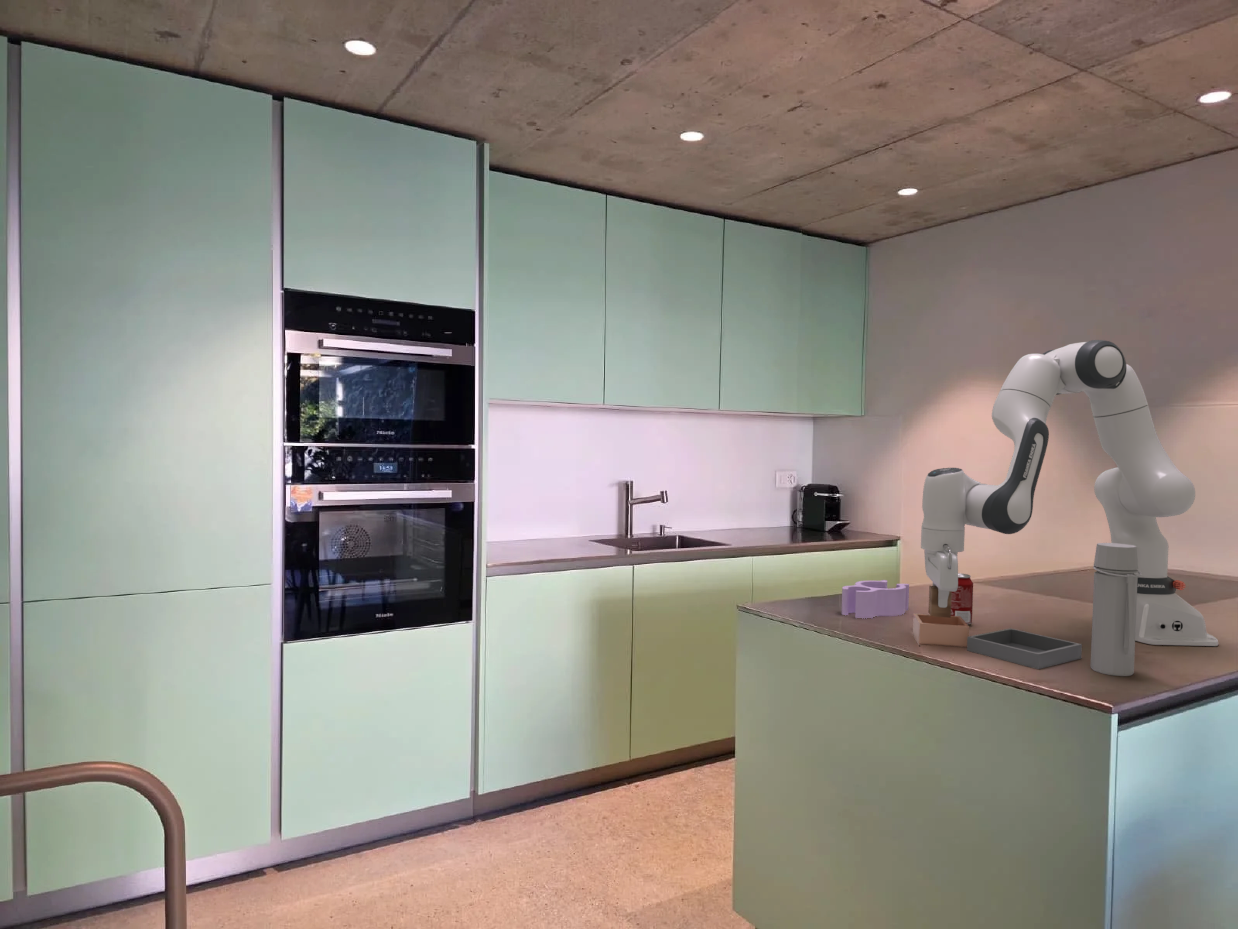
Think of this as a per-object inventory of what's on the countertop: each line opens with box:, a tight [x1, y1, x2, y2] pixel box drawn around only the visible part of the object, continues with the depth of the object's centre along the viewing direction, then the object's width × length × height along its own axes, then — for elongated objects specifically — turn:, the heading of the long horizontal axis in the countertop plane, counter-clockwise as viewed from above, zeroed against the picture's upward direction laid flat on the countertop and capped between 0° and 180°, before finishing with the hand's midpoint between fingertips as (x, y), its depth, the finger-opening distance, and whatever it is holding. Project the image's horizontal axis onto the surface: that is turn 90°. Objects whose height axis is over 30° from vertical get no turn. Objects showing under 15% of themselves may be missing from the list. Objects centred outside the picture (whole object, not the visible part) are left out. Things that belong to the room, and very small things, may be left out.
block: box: [927, 585, 952, 618], centre depth 178 cm, size 4×4×6 cm
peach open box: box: [912, 613, 970, 648], centre depth 178 cm, size 10×10×5 cm
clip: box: [841, 579, 910, 620], centre depth 208 cm, size 20×12×7 cm, turn 128°
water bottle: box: [1090, 542, 1142, 677], centre depth 155 cm, size 9×8×25 cm
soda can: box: [951, 572, 974, 626], centre depth 196 cm, size 7×7×12 cm
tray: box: [966, 627, 1083, 670], centre depth 167 cm, size 15×15×4 cm
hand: (940, 604), depth 178 cm, fingers closed on block, 4 cm apart
